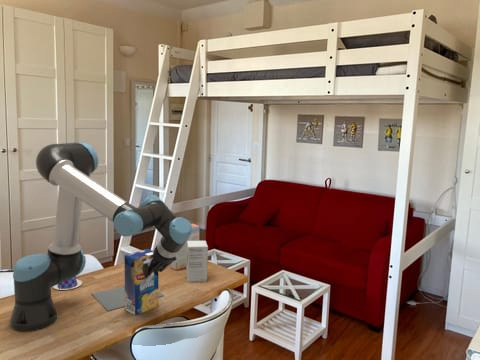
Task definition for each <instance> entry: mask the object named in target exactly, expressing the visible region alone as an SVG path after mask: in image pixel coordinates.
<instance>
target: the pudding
mask: <svg viewBox="0 0 480 360" xmlns="http://www.w3.org/2000/svg"><path fill="white" fill-rule="evenodd" d="M76 277H77V276H75V277H73V278H72V279H68V280H66V281H64V282H62V283H60V284H57V285H55V286H53V287H52V288H53V289H55V290H61V291H65V290H66V291H67V290H73V289H76V288H78V287H80V286H82V284H83V281H82V280H80V279H77V278H76ZM59 288H60V289H59ZM61 288H62V289H61ZM67 288H68V289H67Z"/></svg>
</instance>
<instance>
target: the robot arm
mask: <svg viewBox="0 0 480 360" xmlns="http://www.w3.org/2000/svg"><path fill="white" fill-rule="evenodd" d="M35 165H36V169H37V171H38V174H39V175H40V176H41V177H42V178H43V179H44V180H45V181H47V182H48V183H50V184H51V185H53V186H54V187H55V186H56V187H58V193H57V202H56V213H55V220H54V230H53V232H54V233H53V240H52V242H51V243H50V244H49V245H48V247H47V253H46V254H45V253H34V254H30V255H25V256H23V257H22V258H20V259H17V261H16V262H15V263H14V264H13V273H12V278H13V287H14V288H13V289H14V307H13V309H12V313H11V316H10V320H9V322H10V324H9V325H10V328H11V329H12V330H14V331H18V332H34V331H38V330H42V329H44V328H47V327H49V326H51V325H53V324H54V323H55V322H56V321H57V320H58V310H57V308H56V306H55V303H54V301H53V298H52V288H53V286H55V285H57V284H60V283H62V282H64V281H66V280H68V279H72V278H73V277H78V276H79V275H80V274H81V273H82V272H83V271H84V269H85V267H86V262H87V261H86V258H87V257H86V255H84V254H85V252H84V251H83V250H82V247H81V245H80V244H79V243H78V241H79V233H80V232H79V231H80V225H81V216H82V207H83V203H85V205H88V206H89V207H90V208H92V209H94V210H95V212H98V213H99V214H101V216H102V215H103V216H104V217H105V218H106V219H108V220H109V221H111V222H113V228H114V230H115V231H116V233H117V234H118V235H120V236H121V237H125V238H126V237H132V236H134V235H135V236H136V235H138V234H139V233H141V232H144V231H146V230H149V229H152V228H155V230H156V231H157V232H158V233H160V235H161V236H162V237H161V238H160V239H159V241H158V243H157V245H156V246H155V248H154V249H153V251H154V252H153V255H152V256H151V257H150V259H147V260H146V259H143V260H142V261H143V268H142V270H143V273H144V276H145V278H146V283H148V282H150V280H151V279H152V277H153V276H157V275H158V276H159V273H162V272H163V271H165V270H166V269H167V267H169V266H170V264H171V263H172V262H173V261H175V260H176V255H177V253H178V252H179V250H180V249H181V248H182V246H183V245H184V244H185V243H186V241H188V239H189V237H190V235H191V233H192V225H191V224H192V223H191V221H190V220H188V219H186V218H184V217H179V216H178V217H177V216H176V215H175V214H174V213H173V211H172V210H171V209H170V208H169V207H168V206H167V205H166V203H165V202H164V201H163V200H162V199H160V197H158V196H157V194H156V195H155V194H152V195H149V196H148V197H146V198H145V199H144V200H142V201H141V203H140V204H139V206H138V207H136V206H134V205H132V204H131V203H129V202H127V201H126V200H125V199H123V198H122V197H120V196H119V195H117V194H116V193H114V192H113V191H111V190H109V188H106V187H105V186H103V185H102V184H100V183H99V182H98V181H96V180H95V179H94V178H92V177H90V176H91V174H92V173H94V172H95V171H96V170H97V169H98V167H99V155H98V154H97V152H96V151H95V149H94V148H93V147H92V145H90V144H89V143H86V142H77V141H74V142H67V143H65V142H64V143H51V144H48V145H46V146H44V147H42V149H40V151H39V152H38V154H37V155H36V158H35ZM150 262H151V263H150Z"/></svg>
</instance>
